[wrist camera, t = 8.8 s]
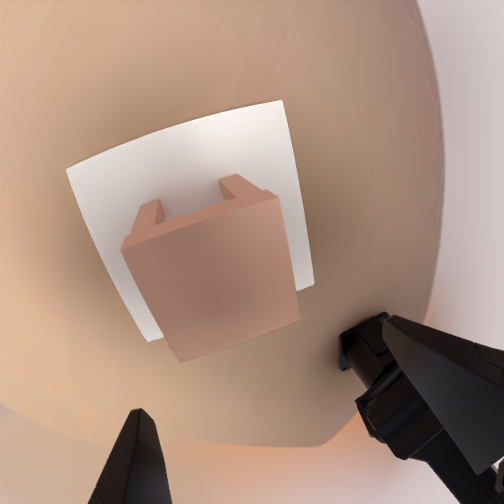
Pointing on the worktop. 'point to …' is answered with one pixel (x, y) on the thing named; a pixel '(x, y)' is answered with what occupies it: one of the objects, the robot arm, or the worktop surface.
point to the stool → (215, 270)
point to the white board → (189, 186)
